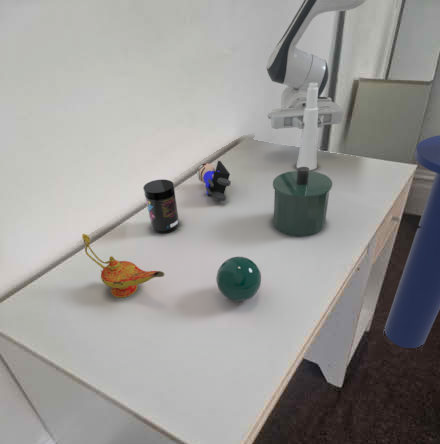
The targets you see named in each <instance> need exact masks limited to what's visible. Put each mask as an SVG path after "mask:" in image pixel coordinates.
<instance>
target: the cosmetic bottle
mask: <svg viewBox="0 0 440 444" xmlns="http://www.w3.org/2000/svg"><path fill="white" fill-rule="evenodd" d="M317 86H318V83H309V88H308V90H307V103H306V108H305V109H304V117H303V122H304V129H301V136H300V143H299V151H298V156H297V161H296V165H295V166H296V169H298V168H299V167H308V168H309V171H314V170H316V169H317V167H318V160H317V159H318V158H317V157H318V156H317V147H318V146H317V145H318V144H317V143H318V128H317V125H318V107H317V99H318V87H317Z"/></svg>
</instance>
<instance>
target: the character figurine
mask: <svg viewBox="0 0 440 444" xmlns="http://www.w3.org/2000/svg"><path fill="white" fill-rule="evenodd" d="M196 171H197V172H196V177H197V178H198V180H199V181H200V182H201V183H202V184H203V183H204V184H205V185H204V186H205V190H206V195H207V197H209V198H212V199H213V200H215V201H217V202H225V201H226V199H227V196H226V195H225V192H226V189H227V187H230V186H231V183H232V182H231V181H230V180H229V179H230V176H231V173H230V172H229V171H228V169H227V168H226V167H225V165H224V164H223V162H222V161H221V160H217V164H216V168H215V167H214V165H212V164H211V163H202V164H200V165H199V166H198V168H197V170H196Z"/></svg>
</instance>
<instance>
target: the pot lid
mask: <svg viewBox="0 0 440 444" xmlns="http://www.w3.org/2000/svg"><path fill="white" fill-rule="evenodd" d="M272 188H273V190H274V191H275V190H276V191H277V192H278V193H280V194H283V195H285V196H289V197H294V198H312V197H317V196H321V195H324V194H326V193H327V192H329V193H330V191H331V190H332V189H333V181H332V179H331V178H330V177H329V176H328V175H326V174H324V173H321V172H317V171H314V170H309V168H308V167H299V168H297V170H291V171H286V172H283V173H280V174H278V175H277V176H276V177H275V178H273V180H272Z"/></svg>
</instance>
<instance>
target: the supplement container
mask: <svg viewBox="0 0 440 444" xmlns="http://www.w3.org/2000/svg"><path fill="white" fill-rule="evenodd" d="M142 188H143V193H144V197H145V201H146V207H147V211H148V216H149V221H150V225H151V228H152V230H153V231H154V232H156V233H158V234H167V233H171V232H174V231H176V230H177V229H178V228H179V226H180V219H179V212H178V211H179V210H178V205H177V200H176V193H175V192H176V191H175V185H174V182H173V181H172V180H170V179H154V180H151V181H149V182H146V183H145V184H144V185H143V187H142Z"/></svg>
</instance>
